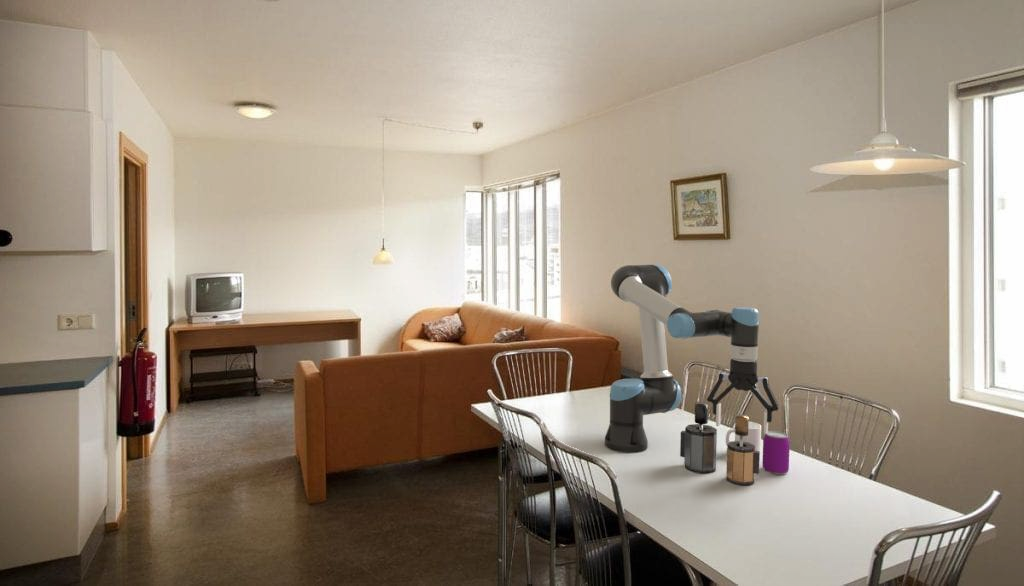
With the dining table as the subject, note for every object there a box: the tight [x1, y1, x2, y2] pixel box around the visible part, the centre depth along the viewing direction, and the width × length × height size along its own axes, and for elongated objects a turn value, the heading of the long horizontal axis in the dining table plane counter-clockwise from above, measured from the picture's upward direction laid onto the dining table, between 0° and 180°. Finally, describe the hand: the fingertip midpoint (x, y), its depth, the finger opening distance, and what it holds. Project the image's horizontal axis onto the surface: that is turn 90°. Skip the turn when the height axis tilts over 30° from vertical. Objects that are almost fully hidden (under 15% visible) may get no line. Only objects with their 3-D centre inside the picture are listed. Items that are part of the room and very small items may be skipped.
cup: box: [725, 421, 762, 453], centre depth 204 cm, size 8×12×10 cm
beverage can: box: [761, 430, 791, 476], centre depth 188 cm, size 8×8×12 cm
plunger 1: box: [694, 401, 709, 430], centre depth 190 cm, size 7×7×18 cm
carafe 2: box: [725, 440, 761, 487], centre depth 180 cm, size 9×8×11 cm
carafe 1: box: [679, 423, 718, 475], centre depth 191 cm, size 11×10×13 cm
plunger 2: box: [734, 413, 750, 447], centre depth 180 cm, size 5×5×18 cm
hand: (741, 428), depth 180 cm, fingers open, 13 cm apart
